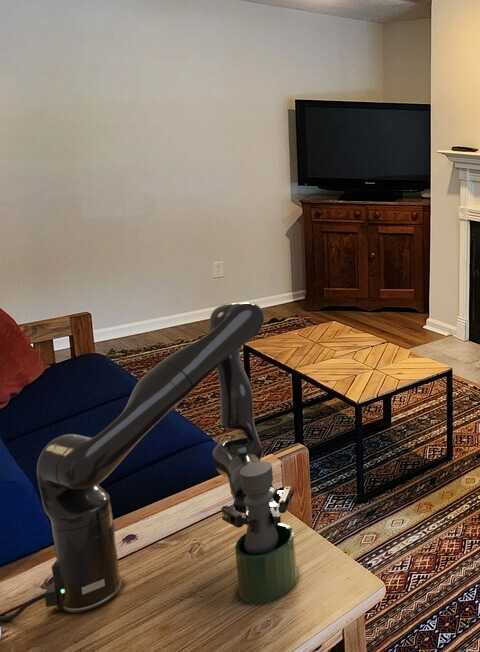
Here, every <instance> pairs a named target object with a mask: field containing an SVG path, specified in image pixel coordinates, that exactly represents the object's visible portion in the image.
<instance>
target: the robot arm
mask: <svg viewBox="0 0 480 652" xmlns="http://www.w3.org/2000/svg"><path fill="white" fill-rule="evenodd" d="M264 321H265V313H264V310H263V309H262V308H261V306H259V305H258V304H256V303H254V302H247V301H245V302H244V301H241V302H234V303H225V304H221V305H219V306H217V307H216V308H215V309H214V310H213V311H212V313H211V314H210V317H209V321H208V323H209V324H208V325H209V333H208V334H206V335H205V336H204V337H203V336H202V337H201V338H200V339H198V340H196V341H194V342H192V343H190V344H189V345H186V346H184V347H182V348H180V349H178V350H176V351H175V352H173V353H172V354H170V355H168V356H167V357H165V358H164V359H162V360H161V361H160V362H159V363H157V364H156V365H155V366H154V367H152V368H151V369H150V370H149V371H148V372H147V373H146V374H144V376H142V377H141V378H140V380H138V381H137V383H136V384H135V386H134V388H133V390H132V392H131V394H130V396H129V399H128V401H127V403H126V406H125V407H124V409H123V411H122V412H121V413H120V414H119V415H118V417H117V418H115V419H114V420H113V422H111V423H110V424H109V425H108V426H106V427H105V428H104V429H103V430H102V431H101V432H99V433H98V434H97V435H95V436H94V437H91V436H86V435H81V434H75V433H67V434H63V435H60V436H58V437H56V438H54V439H52V440H51V441H50V442H48V444H46V446H45V447H43V449H42V451H41V453H40V455H39V457H38V460H37V465H36V477H37V482H38V487H39V488H38V489H39V493H40V497H41V503H42V507H43V510H44V512H45V514H46V515H47V516H48V518H49V520H50V524H51V530H52V538H53V544H54V552H55V559H56V560H55V561H54V562H53V564H51V565H52V566H51V574H52V580H53V581H52V582H51V584H50V585H49V587H48V588H47V589H46V591H45V592H44V593H42V594H39V595H37V596H36V597H34V598H32V599H30V600H28V601H27V602H24V603H23V604H22V605H21V606H20V607H19V608H18V609H17V610H16V611H15V612H14V613H12V614H10V615H7V616H0V623H2V622H7V621H10V620H13V619H15V618H17V617H19V616H20V615H21V613H23V612H24V610H26V609H27V608H28V607H30V606H32V605H33V604H34V603H37V602H38V601H40V600H43V599H44V600H45V607H46V608H50V607H55V606H56V608H57V609H56V610H57V611H58V612H59V611H64V612H66V613H71V614H72V613H73V614H76V613H84V612H87V611H91V610H93V609H96V608H99V607H101V606H103V605H104V604H106V603H108V602H109V601H110V600H112V599H113V598H114V597H115V596H116V595H117V594H118V593H119V591H121V588H122V580H121V574H120V567H119V566H120V565H119V558H118V549H117V543H116V533H115V526H114V525H115V524H114V518H113V509H112V500H111V497H110V494H109V492H107V491H106V490H105V489H104V487H102V486H101V485H100V484H101V483H102V482H103V481H105V479H107V478H108V477H109V476H110V475H111V474H112V472H113V471H114V470H115V469H116V468H117V467H118V466H119V465H120V464H121V462H122V461H123V460H124V459H125V458H126V457H127V456H128V455H129V453H131V451H132V450H133V449H134V448H135V447H136V446H137V444H138V443H140V442H141V440H142V439H143V438H144V437H145V436H146V435H147V434H148V433H149V432H150V431H151V430H152V429H154V427H156V425H158V424H159V422H160V421H161V420H163V419H164V417H166V416H167V415H168V414H169V413H170V412H171V411H172V410H173V409H174V408H176V407H177V406H178V405H179V404H180V403H181V402H182V401H184V400H185V398H187V396H189V395H190V394H191V393H193V391H194V390H196V388H197V387H198V386H199V385H200V384H201V383H202V382H203V381H204V380H206V378H207V377H209V376H210V375H211V374H212V373H213V372H214V371H215V370H217V376H218V377H217V378H218V384H219V385H218V386H219V405H220V408H219V409H220V426H221V428H222V429H224V430H229V431H231V430H232V431H242V432H243V433H244V437H237V438H233V439H227V440H222V441H221V442H219V443H217V444H216V445H215V447H214V448H213V450H212V453H211V460H212V465H213V467H214V468H215V470H216V471H217V473H219V474H220V475H222V477H224V478H226V479H227V481H228V482H229V483H228V484H229V490H230V491H229V492H230V495H231V496H232V498H233V504H232V505H230V506H229V505H222V507H221V508H220V510H221V520H222V521H224V522H225V523H227V524H230V525H232V526H233V527H235V528H238V529H239V528H242V527H243V526H244V525H246V527H248V528H249V531H250V532H254V534H256V533H259V531H258V522H257V520H252V522H251V521H250V520H249V514H248V507H247V506H245V504H244V501H243V500H244V498H245V497H246V494H245V493H244V492H243V490H242V488H241V481H240V470H241V469H242V468H243V467H244V466H246V465H248V464H250V463H253V462H258V461H261V459H262V457H263V454H264V453H263V452H264V450H263V446H262V442H261V440H260V437H259V435H258V431H257V427H256V424H255V417H254V395H253V388H252V385H251V384H252V383H251V381H250V379H249V377H248V374H247V372H246V370H245V367H244V364H243V362H242V359H241V354H240V349H241V347H243V346H245V345H246V344H247V343H248V342H249V341H251V340H252V339H253V338H255V337H256V336H257V335H258V334H259V332H261V330H262V328H263V325H264ZM269 490H270V491H272V493H273V496H272V499H271V500H270V514H271V517H272V523H273V525H274V527H277V526H278V523H281V521H282V519H281V517H282V516H281V514H285V513H286V512H287V510H288V507H289V505H290V501H291V500H292V489H291V486H289V485H288V486H285V487H284V488H283V490H278V489H277V488H276V487H274V486H273V483H272V484H271V487H270V489H269ZM278 498H279V501H278V502H276V501H277V499H278Z"/></svg>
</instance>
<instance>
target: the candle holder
mask: <svg viewBox="0 0 480 652" xmlns="http://www.w3.org/2000/svg"><path fill="white" fill-rule="evenodd" d="M273 477H274V476H273V465H272V463H271V462H269V461H265V460H260V461H258V462H253V463H250V464H248V465H246V466H244V467H243V468H242V469H241V470H240V481H241V488H242V490H243V492H244V493H245V494H246V497H245V498H244V500H243V501H244V504H245V506H247V507H248V514H249V520H250V521H251V522H252V520H257V522H258V531H259V533H256V534H254V532H250V531H249V528H248V526H246V527H247V528H246V532H245V533H246V538H245V543H244V545H245V549H246V551H247V553H248V554H249V555H262V554H266V553H269V552H272V551H274V550H275V547H276V545H277V542H278V533H277V530H276V528H275V527H274V525H273V523H272V517H271V514H270V500H271V499H272V496H273V493H272V491H270V490H269V489H270V487H271V484H272V485H273V481H274V478H273Z"/></svg>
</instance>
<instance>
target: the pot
mask: <svg viewBox="0 0 480 652" xmlns="http://www.w3.org/2000/svg"><path fill="white" fill-rule="evenodd" d="M275 528H276V530H277V533H278V542H277V545H276V547H275V550H274V551H272V552H269V553H266V554H262V555H249V554H248V553H247V551H246V549H245V545H244V543H245V538H246V533H247V532H245V533H244V534H242V535H241V536H240V537H239V538H238V540H237V541H236V543H235V546H234V551H235V552H234V553H235V563H236V574H237V575H236V576H237V586H238V589H237V590H238V596H239V598H240V599H241V600H242V601H243V602H245V603H248V604H256V605H257V604H258V605H259V604H264V603H269V602H273V601H274V600H277V599H279V598H281V597H283V596H284V595H286V594H287V593H288V592H289V591H290V590H291V589H292V588H293V587H294V585H295V583H296V582H297V576H298V573H297V572H298V569H297V557H296V545H295V544H296V543H295V532H294V529H293V528H292V527H291V526H290V525H289V524H285V523H281V522H280V523H278V526H277V527H275Z"/></svg>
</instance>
